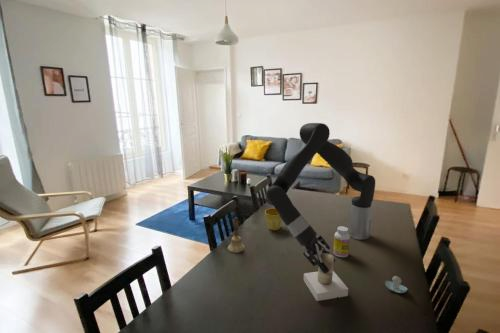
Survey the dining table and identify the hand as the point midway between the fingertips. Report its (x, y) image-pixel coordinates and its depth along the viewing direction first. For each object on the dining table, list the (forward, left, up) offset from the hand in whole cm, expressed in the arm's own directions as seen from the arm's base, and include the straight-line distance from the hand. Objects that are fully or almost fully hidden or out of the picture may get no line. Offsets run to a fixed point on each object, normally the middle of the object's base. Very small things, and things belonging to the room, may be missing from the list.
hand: (330, 267), depth 103 cm
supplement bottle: (-17, -21, -10) cm, 29 cm away
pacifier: (-24, +5, -10) cm, 27 cm away
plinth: (+1, -1, -9) cm, 10 cm away
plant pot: (+5, -54, -10) cm, 55 cm away
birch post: (+1, -1, -6) cm, 7 cm away
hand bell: (+29, -37, -10) cm, 48 cm away
